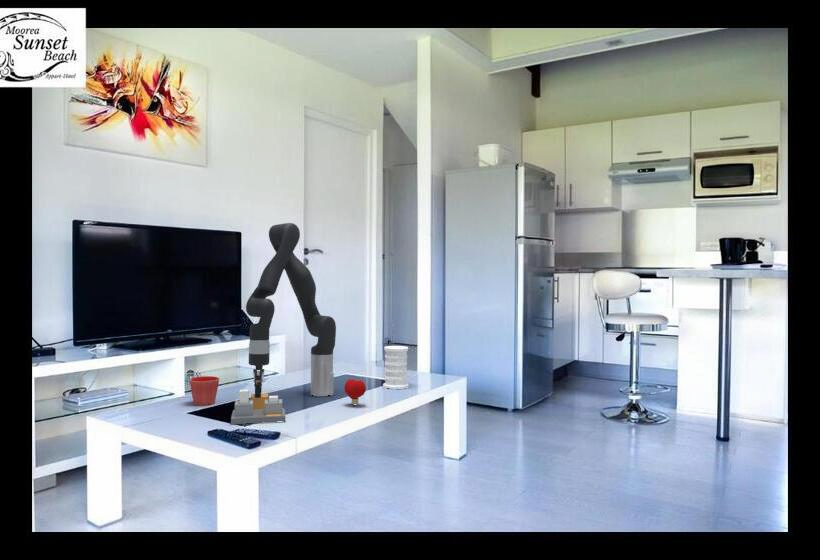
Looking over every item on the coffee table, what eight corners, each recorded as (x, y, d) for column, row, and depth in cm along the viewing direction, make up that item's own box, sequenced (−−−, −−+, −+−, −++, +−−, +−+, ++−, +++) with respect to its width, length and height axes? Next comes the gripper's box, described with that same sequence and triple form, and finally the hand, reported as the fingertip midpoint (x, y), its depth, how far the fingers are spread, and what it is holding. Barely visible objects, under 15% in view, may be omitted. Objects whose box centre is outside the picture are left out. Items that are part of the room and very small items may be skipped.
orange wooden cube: (267, 407, 224) (267, 393, 224) (267, 411, 218) (267, 396, 218) (251, 408, 222) (251, 394, 222) (250, 412, 217) (250, 397, 217)
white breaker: (277, 411, 211) (277, 395, 210) (277, 413, 208) (277, 397, 207) (269, 411, 210) (269, 396, 210) (269, 413, 207) (269, 397, 207)
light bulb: (369, 405, 230) (370, 379, 230) (358, 408, 224) (358, 382, 224) (351, 402, 235) (351, 377, 235) (339, 405, 229) (340, 379, 229)
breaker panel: (284, 413, 216) (284, 397, 215) (285, 422, 204) (285, 404, 204) (233, 415, 211) (233, 399, 211) (230, 424, 200) (231, 406, 200)
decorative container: (380, 389, 261) (380, 348, 261) (386, 384, 273) (386, 345, 272) (406, 390, 259) (406, 349, 259) (410, 385, 271) (411, 346, 270)
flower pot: (221, 404, 228) (222, 379, 228) (192, 407, 223) (192, 382, 222) (216, 399, 237) (216, 375, 237) (187, 402, 232) (187, 377, 232)
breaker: (248, 404, 208) (248, 389, 208) (248, 406, 205) (248, 391, 205) (239, 405, 207) (240, 389, 207) (239, 407, 205) (239, 391, 204)
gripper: (269, 354, 214) (268, 399, 214) (269, 349, 228) (268, 391, 228) (247, 354, 212) (246, 399, 212) (249, 349, 226) (248, 391, 226)
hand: (258, 395), depth 220 cm, fingers open, 8 cm apart
